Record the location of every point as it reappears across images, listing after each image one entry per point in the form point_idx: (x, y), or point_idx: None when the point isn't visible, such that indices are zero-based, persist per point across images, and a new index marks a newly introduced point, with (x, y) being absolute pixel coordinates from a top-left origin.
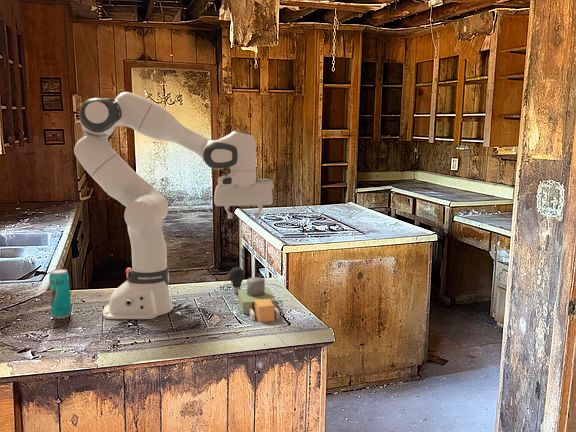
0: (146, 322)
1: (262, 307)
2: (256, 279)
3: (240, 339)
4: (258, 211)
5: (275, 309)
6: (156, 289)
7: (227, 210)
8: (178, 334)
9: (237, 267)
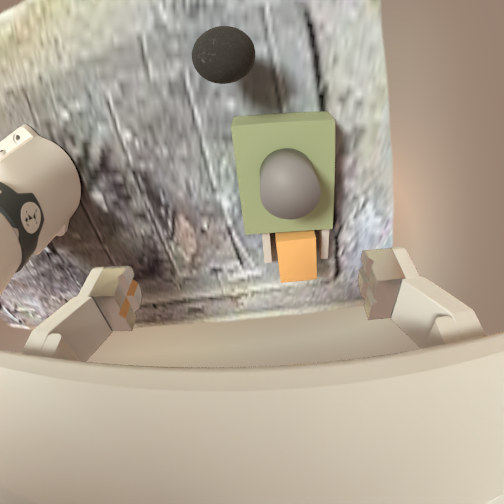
0: (64, 244)
1: (289, 280)
2: (293, 190)
3: (240, 319)
4: (403, 326)
5: (323, 240)
6: (39, 247)
7: (83, 359)
8: None
9: (223, 58)
